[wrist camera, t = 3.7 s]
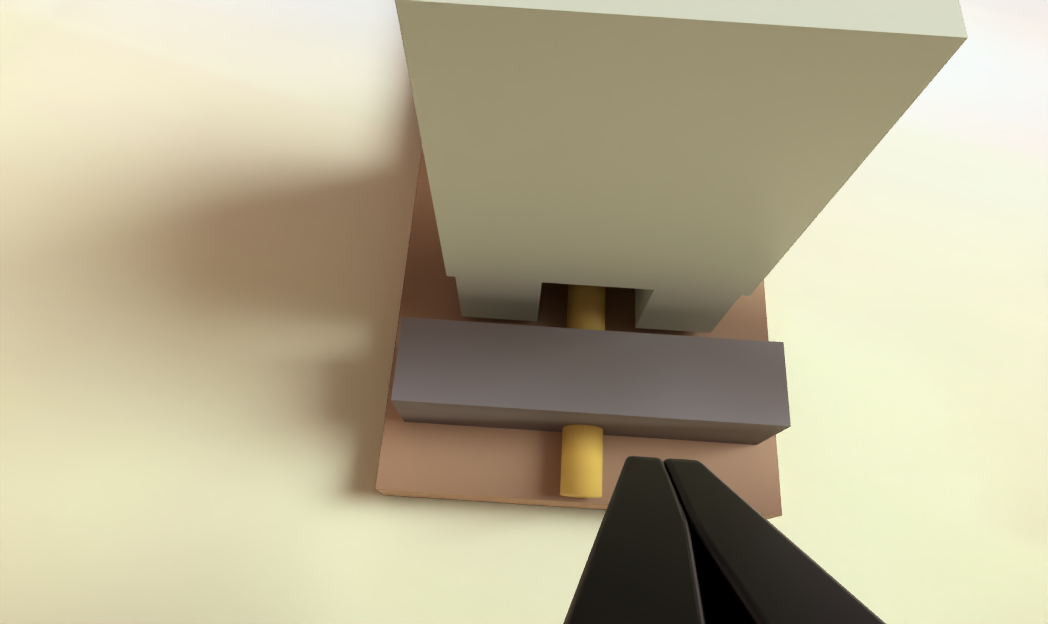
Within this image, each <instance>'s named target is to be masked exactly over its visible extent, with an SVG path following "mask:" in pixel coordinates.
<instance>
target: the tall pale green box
mask: <svg viewBox="0 0 1048 624" xmlns="http://www.w3.org/2000/svg"><path fill="white" fill-rule="evenodd" d="M395 3H396V8H397V14H398V19H399V24H400V30H401V35H402V40H403V46H404V51H405V56H406V62H407V67H408V73H409V78H410V83H411V89H412V94H413V99H414V105H415V110H416V115H417V121H418V126H419V131H420V137H421V142H422V147H423V153H424V158H425V163H426V169H427V174H428V179H429V185H430V190H431V195H432V201H433V206H434V211H435V217H436V222H437V227H438V233H439V238H440V243H441V249H442V254H443V259H444V265H445V270H446V275H447V276H453V277H455V278H456V284H457V291H458V297H459V303H460V309H461V316H463V317H478V318H493V319H509V320H524V321H537V318H538V310H539V302H540V294H541V285H542V282H544V283H559V284H574V285H589V286H604V287H619V288H635V328H645V329H660V330H676V331H691V332H706V333H711V332H712V330H713V329H714V328H715V327H716V325H717V324H718V323H719V322H720V321H721V319H722V318H723V317H724V316H725V314H726V313H727V312H728V311H729V309H730V308H731V307H732V306H733V305H734V303H735V302H736V301H737V300H738V298H739V297H740V296H750V295H751V294H752V293H753V291H754V290H755V289H756V288H757V287H758V285H759V284H760V283H761V282H762V281H763V280H764V278H765V277H766V276H767V275H768V274H769V272H770V271H771V270H772V269H773V268H774V266H775V265H776V264H777V263H778V262H779V261H780V259H781V258H782V257H783V256H784V255H785V253H786V252H787V251H788V250H789V249H790V248H791V246H792V245H793V244H794V243H795V242H796V240H797V239H798V238H799V237H800V236H801V235H802V233H803V232H804V231H805V230H806V229H807V227H808V226H809V225H810V224H811V223H812V221H813V220H814V219H815V218H816V217H817V216H818V214H819V213H820V212H821V211H822V210H823V208H824V207H825V206H826V205H827V204H828V203H829V201H830V200H831V199H832V198H833V197H834V195H835V194H836V193H837V192H838V191H839V190H840V188H841V187H842V186H843V185H844V184H845V182H846V181H847V180H848V179H849V178H850V176H851V175H852V174H853V173H854V172H855V171H856V169H857V168H858V167H859V166H860V165H861V163H862V162H863V161H864V160H865V159H866V158H867V156H868V155H869V154H870V153H871V152H872V150H873V149H874V148H875V147H876V146H877V145H878V143H879V142H880V141H881V140H882V139H883V137H884V136H885V135H886V134H887V133H888V131H889V130H890V129H891V128H892V127H893V126H894V124H895V123H896V122H897V121H898V120H899V118H900V117H901V116H902V115H903V114H904V113H905V111H906V110H907V109H908V108H909V107H910V105H911V104H912V103H913V102H914V101H915V100H916V98H917V97H918V96H919V95H920V94H921V92H922V91H923V90H924V89H925V88H926V86H927V85H928V84H929V83H930V82H931V81H932V79H933V78H934V77H935V76H936V75H937V73H938V72H939V71H940V70H941V69H942V68H943V66H944V65H945V64H946V63H947V62H948V60H949V59H950V58H951V57H952V56H953V55H954V53H955V52H956V51H957V50H958V49H959V47H960V46H961V45H962V44H963V43H964V41H965V40H966V39H967V38H968V37H967V33H966V28H965V24H964V20H963V16H962V11H961V7H960V3H959V0H395Z"/></svg>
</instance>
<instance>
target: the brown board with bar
mask: <svg viewBox="0 0 1048 624" xmlns="http://www.w3.org/2000/svg"><path fill="white" fill-rule="evenodd" d="M790 426H791V425H790V414H789V402H788V391H787V379H786V368H785V356H784V344H783V342H770V341H768V329H767V317H766V304H765V291H764V280H763V281H762V282H761V283H760V284H759V285H758V287H757V288H756V289H755V290H754V291H753V293H752V294H751V295H750V296H740V297H739V298H738V300H737V301H736V302H735V303H734V305H733V306H732V307H731V308H730V309H729V311H728V312H727V313H726V314H725V316H724V317H723V318H722V319H721V321H720V322H719V323H718V324H717V325H716V327H715V328H714V329H713V330H712V332H711V333H706V332H691V331H676V330H660V329H645V328H635V288H619V287H604V286H589V285H574V284H559V283H544V282H542V285H541V294H540V302H539V310H538V318H537V321H524V320H509V319H493V318H478V317H463V316H461V309H460V303H459V297H458V291H457V284H456V278H455V277H453V276H447V275H446V270H445V265H444V259H443V254H442V249H441V243H440V238H439V233H438V227H437V222H436V217H435V211H434V206H433V201H432V195H431V190H430V185H429V179H428V174H427V169H426V163H425V158H424V153H423V147H422V154H421V162H420V169H419V176H418V183H417V191H416V198H415V205H414V212H413V219H412V227H411V234H410V241H409V248H408V256H407V263H406V270H405V277H404V284H403V292H402V299H401V306H400V313H399V321H398V328H397V335H396V342H395V349H394V357H393V364H392V371H391V378H390V386H389V393H388V400H387V407H386V414H385V422H384V429H383V436H382V443H381V451H380V458H379V465H378V472H377V479H376V487H375V489H376V490H377V491H379V492H380V493H381V494H383V495H392V496H407V497H422V498H437V499H453V500H468V501H483V502H499V503H514V504H529V505H545V506H560V507H575V508H591V509H606V510H607V507H608V505H609V502H610V499H611V497H612V494H613V491H614V489H615V486H616V484H617V481H618V478H619V476H620V473H621V470H622V468H623V465H624V462H625V460H626V458H627V457H629V456H642V457H656V458H660V459H661V460H662V461H664V460H666V459H668V458H671V459H688V460H697V461H699V462H701V463H702V464H704V465H705V466H706V467H707V468H708V469H709V470H710V471H712V472H713V473H714V474H715V475H716V476H717V477H718V478H720V479H721V480H722V481H723V482H724V483H725V484H726V485H728V486H729V487H730V488H731V489H732V490H733V491H734V492H736V493H737V494H738V495H739V496H740V497H741V498H743V499H744V500H745V501H746V502H747V503H748V504H749V505H751V506H752V507H753V508H754V509H755V510H756V511H757V512H759V513H760V514H761V515H762V516H763V517H764V518H765V519H770V518H774V517H778V516H782V509H781V496H780V484H779V471H778V458H777V445H776V434H778V433H779V432H781V431H783V430H785V429H786V428H788V427H790Z"/></svg>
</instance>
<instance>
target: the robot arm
mask: <svg viewBox="0 0 1048 624" xmlns="http://www.w3.org/2000/svg"><path fill="white" fill-rule="evenodd" d="M563 624H886V623H884V622H883V621H882V620H881V619H880V618H879V617H878V616H876V615H875V614H874V613H873V612H872V611H871V610H870V609H868V608H867V607H866V606H865V605H864V604H863V603H862V602H860V601H859V600H858V599H857V598H856V597H855V596H854V595H852V594H851V593H850V592H849V591H848V590H847V589H846V588H844V587H843V586H842V585H841V584H840V583H839V582H837V581H836V580H835V579H834V578H833V577H832V576H831V575H829V574H828V573H827V572H826V571H825V570H824V569H823V568H821V567H820V566H819V565H818V564H817V563H816V562H815V561H813V560H812V559H811V558H810V557H809V556H808V555H807V554H805V553H804V552H803V551H802V550H801V549H800V548H799V547H797V546H796V545H795V544H794V543H793V542H792V541H791V540H789V539H788V538H787V537H786V536H785V535H784V534H783V533H781V532H780V531H779V530H778V529H777V528H776V527H775V526H773V525H772V524H771V523H770V522H769V521H768V520H767V519H765V518H764V517H763V516H762V515H761V514H760V513H759V512H757V511H756V510H755V509H754V508H753V507H752V506H751V505H749V504H748V503H747V502H746V501H745V500H744V499H743V498H741V497H740V496H739V495H738V494H737V493H736V492H734V491H733V490H732V489H731V488H730V487H729V486H728V485H726V484H725V483H724V482H723V481H722V480H721V479H720V478H718V477H717V476H716V475H715V474H714V473H713V472H712V471H710V470H709V469H708V468H707V467H706V466H705V465H704V464H702V463H701V462H699V461H697V460H688V459H671V458H668V459H666V460H664V461H662V460H661V459H660V458H656V457H642V456H629V457H627V458H626V460H625V462H624V465H623V468H622V470H621V473H620V476H619V478H618V481H617V484H616V486H615V489H614V491H613V494H612V497H611V499H610V502H609V505H608V507H607V510H606V513H605V515H604V518H603V520H602V523H601V526H600V528H599V531H598V534H597V536H596V539H595V542H594V544H593V547H592V549H591V552H590V555H589V557H588V560H587V563H586V565H585V568H584V571H583V573H582V576H581V578H580V581H579V584H578V586H577V589H576V592H575V594H574V597H573V599H572V602H571V605H570V607H569V610H568V613H567V615H566V618H565V621H564V623H563Z"/></svg>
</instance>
